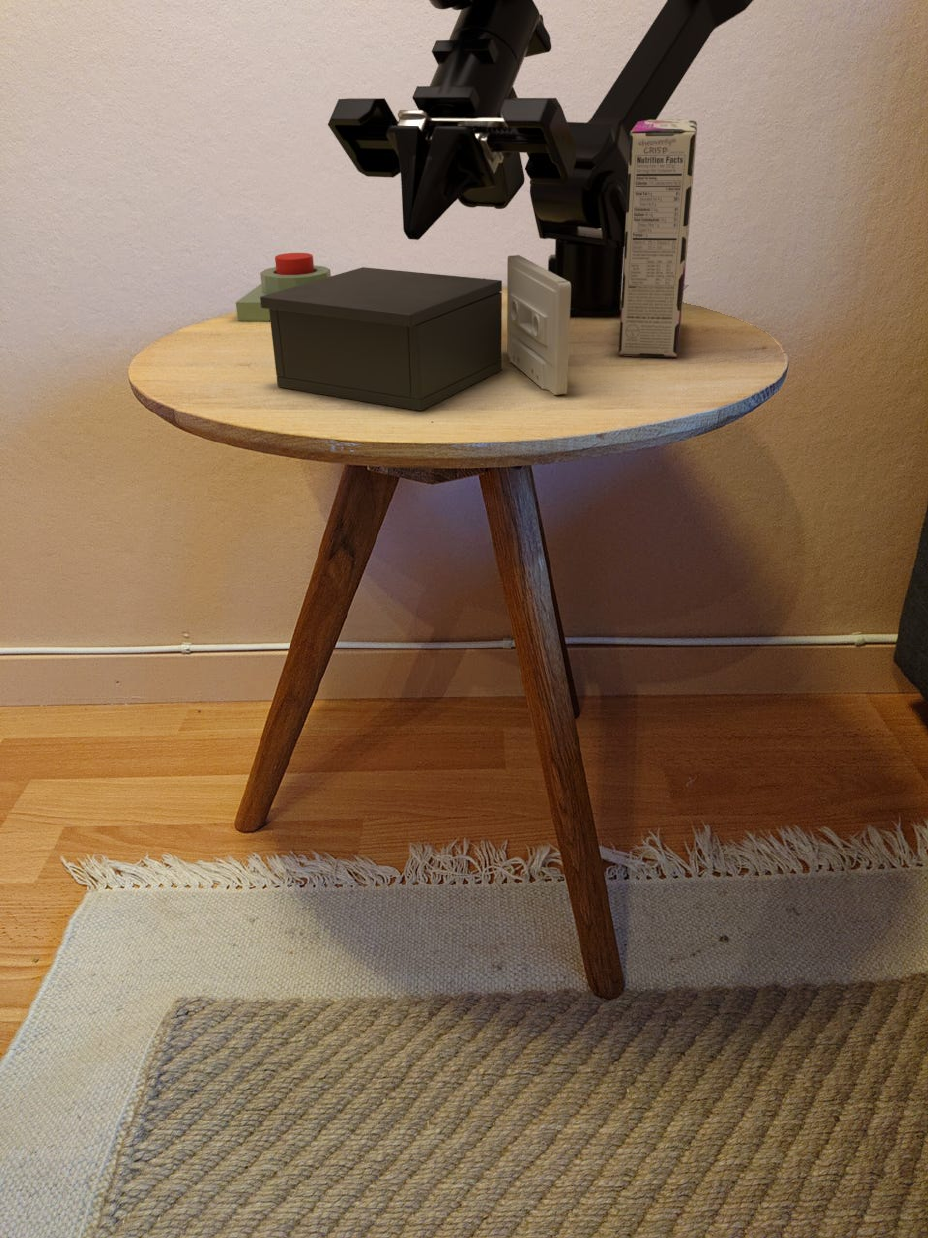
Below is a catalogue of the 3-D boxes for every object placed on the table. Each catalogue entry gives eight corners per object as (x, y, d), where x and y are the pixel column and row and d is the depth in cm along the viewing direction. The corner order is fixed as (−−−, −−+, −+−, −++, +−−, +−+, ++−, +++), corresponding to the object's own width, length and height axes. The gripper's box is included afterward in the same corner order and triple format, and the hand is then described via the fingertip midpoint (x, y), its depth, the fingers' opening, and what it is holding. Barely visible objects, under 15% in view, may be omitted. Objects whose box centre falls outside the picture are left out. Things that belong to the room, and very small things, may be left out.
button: (282, 271, 95) (280, 252, 94) (318, 271, 95) (316, 252, 94) (272, 278, 92) (270, 258, 91) (309, 278, 91) (308, 258, 91)
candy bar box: (622, 324, 87) (636, 118, 79) (679, 326, 86) (699, 118, 78) (614, 356, 77) (628, 126, 69) (677, 359, 76) (700, 126, 68)
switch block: (269, 296, 100) (264, 260, 98) (354, 296, 99) (352, 260, 97) (237, 320, 90) (232, 281, 89) (332, 321, 90) (329, 281, 88)
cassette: (574, 394, 69) (579, 282, 65) (549, 397, 68) (552, 284, 64) (522, 353, 79) (523, 253, 75) (500, 355, 78) (500, 255, 74)
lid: (411, 327, 62) (410, 314, 62) (260, 308, 68) (259, 296, 67) (502, 291, 72) (502, 280, 71) (363, 277, 77) (362, 266, 77)
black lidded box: (421, 411, 66) (417, 324, 63) (277, 386, 71) (268, 306, 68) (501, 370, 74) (502, 291, 72) (367, 350, 80) (363, 277, 77)
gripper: (622, 139, 76) (558, 312, 73) (421, 136, 84) (357, 291, 82) (585, 20, 66) (510, 214, 64) (362, 29, 75) (287, 201, 72)
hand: (410, 235), depth 70 cm, fingers closed
